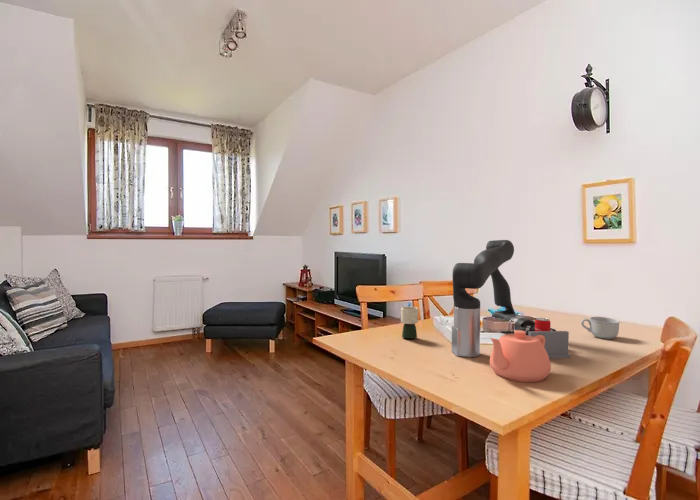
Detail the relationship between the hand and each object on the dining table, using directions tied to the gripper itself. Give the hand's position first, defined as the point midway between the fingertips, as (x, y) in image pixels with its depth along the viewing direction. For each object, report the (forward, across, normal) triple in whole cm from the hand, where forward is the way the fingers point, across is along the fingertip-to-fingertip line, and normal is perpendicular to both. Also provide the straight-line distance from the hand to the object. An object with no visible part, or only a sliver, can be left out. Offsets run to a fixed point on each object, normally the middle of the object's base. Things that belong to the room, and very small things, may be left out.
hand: (545, 336), depth 140 cm
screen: (+5, -2, +6) cm, 8 cm away
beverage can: (-2, 0, +6) cm, 6 cm away
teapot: (+22, -22, +6) cm, 31 cm away
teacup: (-21, +37, +6) cm, 43 cm away
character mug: (-23, -46, +6) cm, 52 cm away
